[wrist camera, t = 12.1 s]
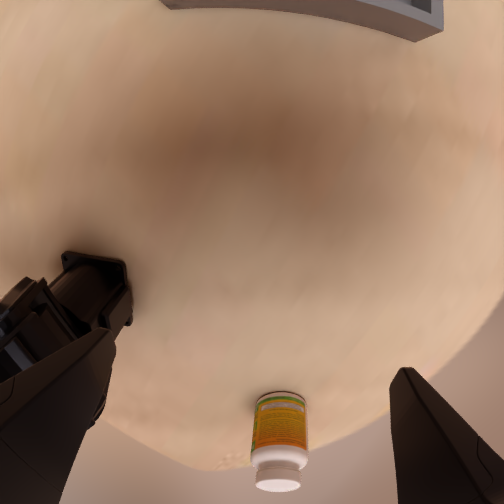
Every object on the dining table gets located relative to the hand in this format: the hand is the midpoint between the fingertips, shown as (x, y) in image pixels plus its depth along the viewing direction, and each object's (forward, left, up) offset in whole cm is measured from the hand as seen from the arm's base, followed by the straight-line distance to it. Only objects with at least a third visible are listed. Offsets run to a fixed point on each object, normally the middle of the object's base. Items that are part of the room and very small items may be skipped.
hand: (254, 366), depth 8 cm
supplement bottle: (+4, -20, -13) cm, 25 cm away
